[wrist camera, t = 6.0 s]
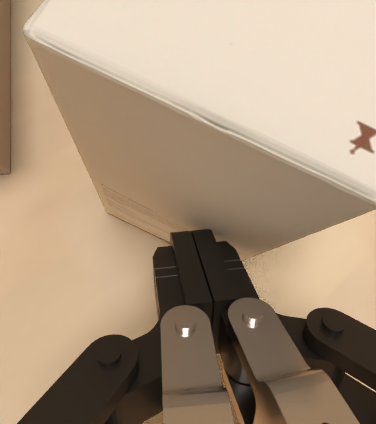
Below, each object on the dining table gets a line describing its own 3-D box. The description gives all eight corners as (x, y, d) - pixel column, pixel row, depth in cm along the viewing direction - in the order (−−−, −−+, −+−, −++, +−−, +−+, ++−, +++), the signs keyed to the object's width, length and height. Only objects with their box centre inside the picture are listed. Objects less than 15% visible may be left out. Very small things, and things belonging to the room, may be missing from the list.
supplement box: (273, 157, 20) (479, -62, 8) (224, 271, 18) (396, 219, 6) (161, 101, 20) (190, -207, 8) (99, 210, 18) (5, 26, 6)
